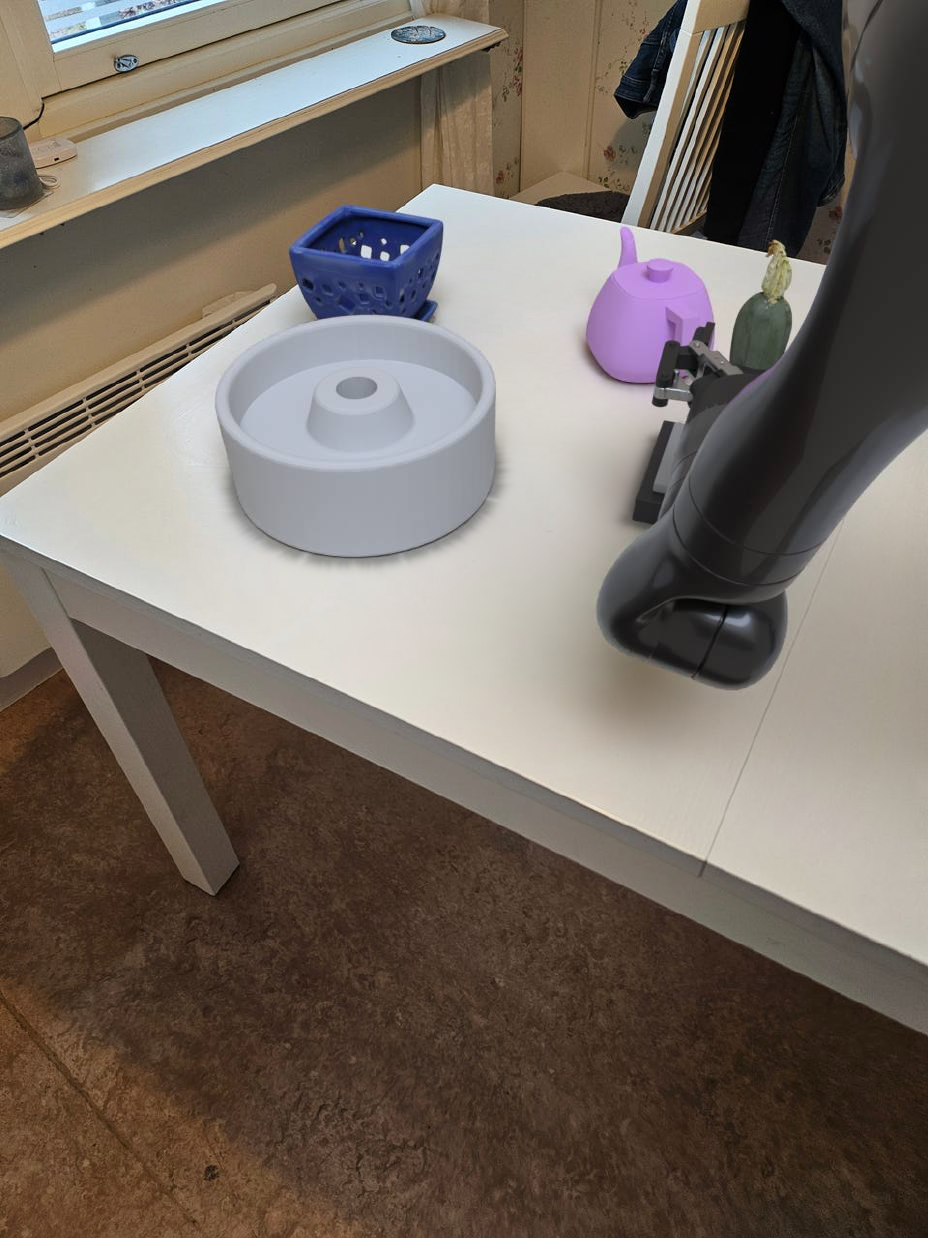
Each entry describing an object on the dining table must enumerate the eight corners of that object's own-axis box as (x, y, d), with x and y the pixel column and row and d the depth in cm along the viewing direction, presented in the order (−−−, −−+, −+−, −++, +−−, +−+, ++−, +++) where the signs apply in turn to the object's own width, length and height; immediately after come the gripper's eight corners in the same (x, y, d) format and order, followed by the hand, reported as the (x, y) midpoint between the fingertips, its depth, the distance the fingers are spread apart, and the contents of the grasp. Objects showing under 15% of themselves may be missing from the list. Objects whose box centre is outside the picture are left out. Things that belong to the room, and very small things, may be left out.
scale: (803, 468, 84) (813, 438, 82) (789, 554, 76) (800, 523, 74) (660, 440, 88) (665, 410, 85) (632, 519, 80) (637, 489, 77)
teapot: (662, 306, 107) (677, 214, 98) (737, 393, 93) (762, 295, 85) (559, 321, 104) (565, 228, 96) (621, 412, 91) (635, 313, 83)
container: (247, 407, 93) (228, 320, 85) (480, 393, 94) (480, 306, 87) (224, 568, 76) (197, 476, 68) (509, 549, 77) (512, 456, 70)
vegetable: (756, 479, 78) (820, 259, 63) (707, 479, 78) (761, 260, 63) (745, 449, 81) (804, 233, 66) (698, 449, 81) (747, 233, 66)
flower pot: (351, 297, 109) (340, 199, 100) (449, 316, 106) (446, 216, 97) (300, 349, 101) (283, 247, 92) (404, 371, 97) (397, 266, 89)
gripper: (856, 427, 56) (868, 311, 67) (639, 387, 60) (682, 283, 70) (822, 516, 62) (838, 396, 72) (625, 475, 65) (667, 366, 76)
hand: (761, 340), depth 71 cm, fingers open, 8 cm apart
